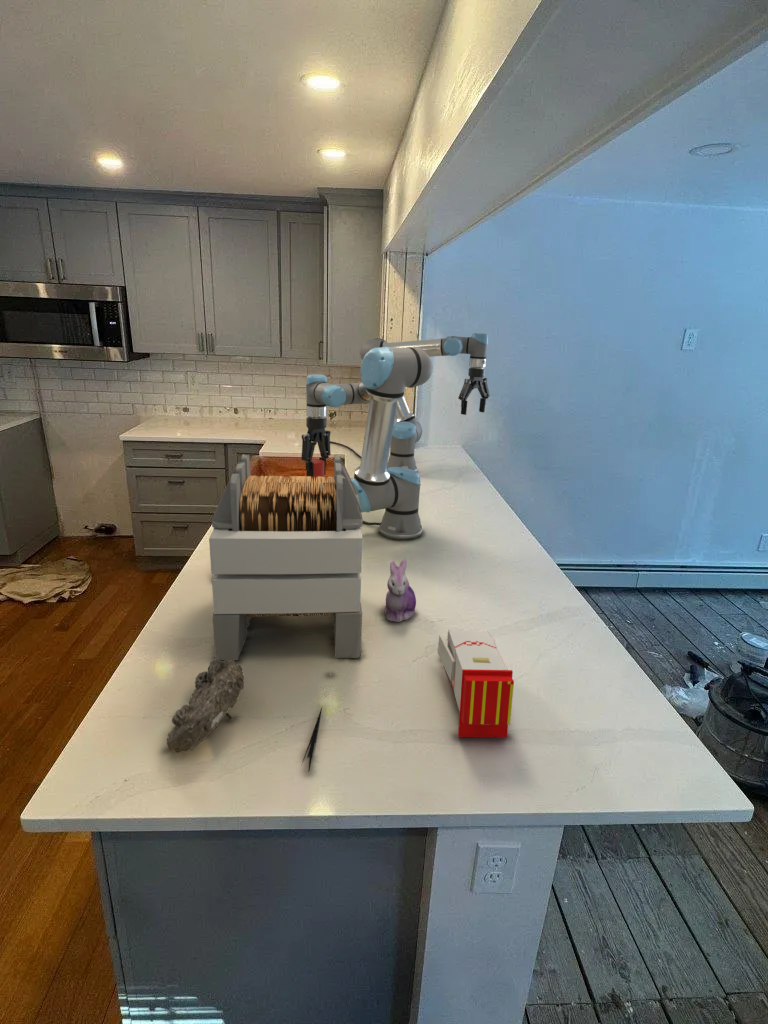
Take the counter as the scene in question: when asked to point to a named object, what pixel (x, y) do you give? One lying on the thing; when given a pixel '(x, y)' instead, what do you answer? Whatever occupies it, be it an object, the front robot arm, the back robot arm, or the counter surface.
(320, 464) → the canister
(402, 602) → the figurine
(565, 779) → the counter surface
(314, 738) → the feather
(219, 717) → the fossil
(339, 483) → the record crate
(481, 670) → the toy
